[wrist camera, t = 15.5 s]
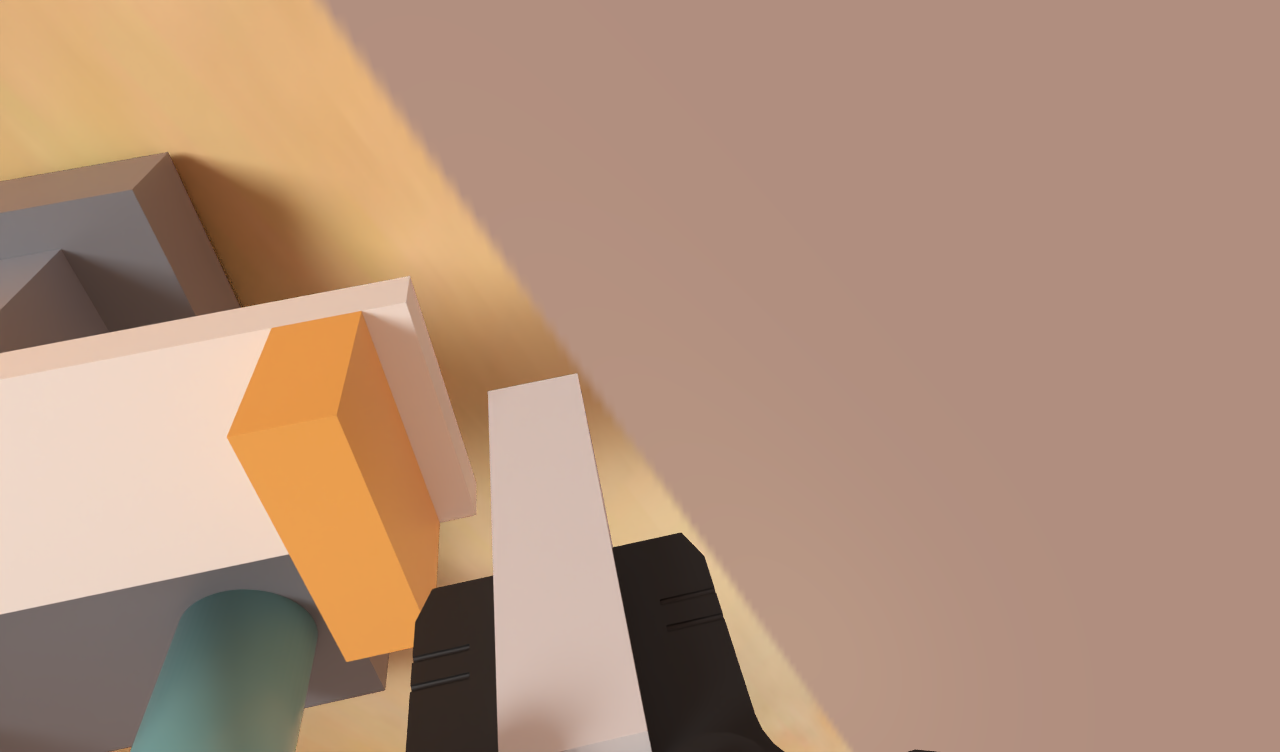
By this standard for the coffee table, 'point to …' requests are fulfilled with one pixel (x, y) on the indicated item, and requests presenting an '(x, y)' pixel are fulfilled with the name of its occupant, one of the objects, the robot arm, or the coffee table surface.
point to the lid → (238, 458)
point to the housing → (170, 609)
